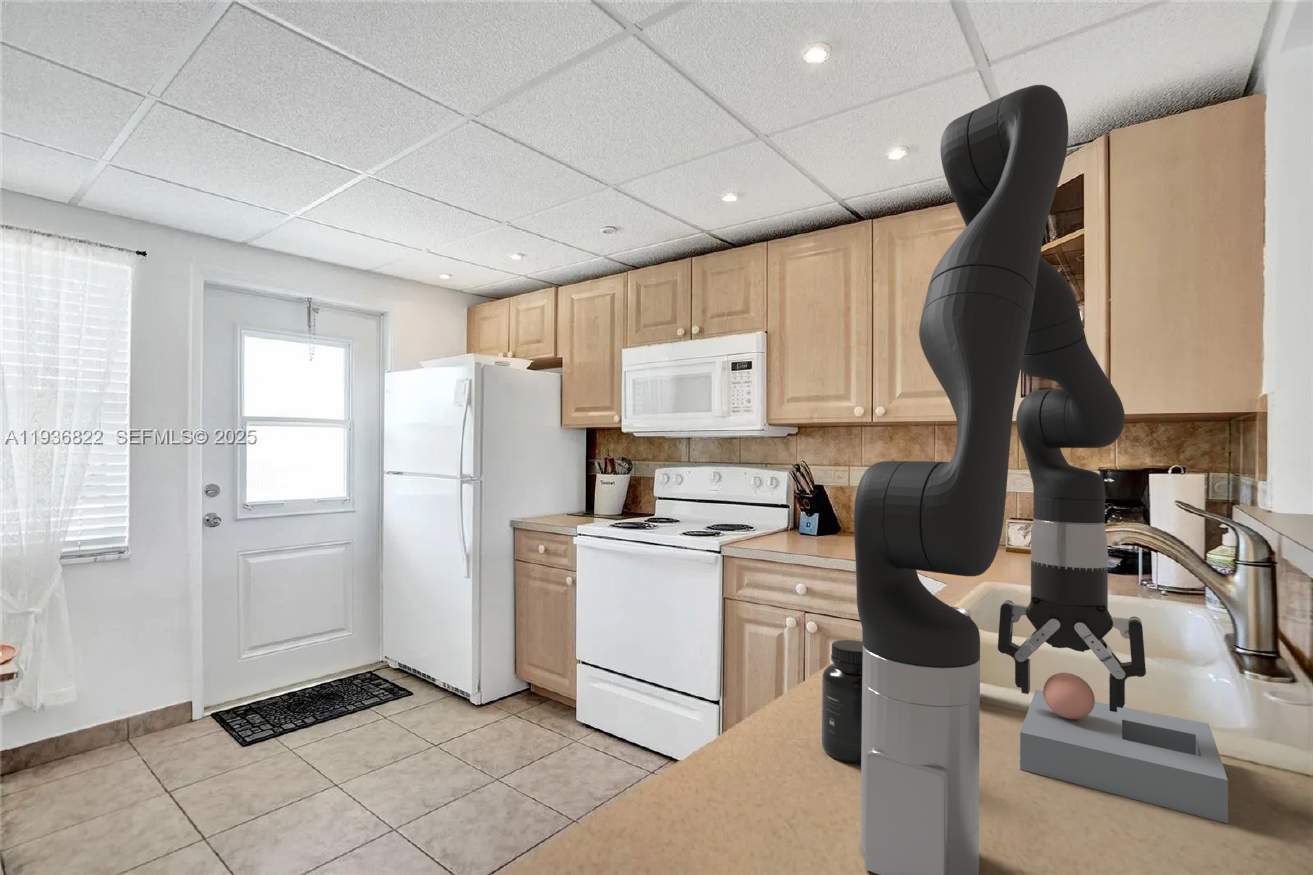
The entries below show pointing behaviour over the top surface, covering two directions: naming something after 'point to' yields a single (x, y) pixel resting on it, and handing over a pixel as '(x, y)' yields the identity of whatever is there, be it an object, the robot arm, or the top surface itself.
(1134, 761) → the grey block with recess
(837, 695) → the supplement bottle
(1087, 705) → the ball
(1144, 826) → the top surface
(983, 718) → the top surface
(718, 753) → the top surface
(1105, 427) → the robot arm
